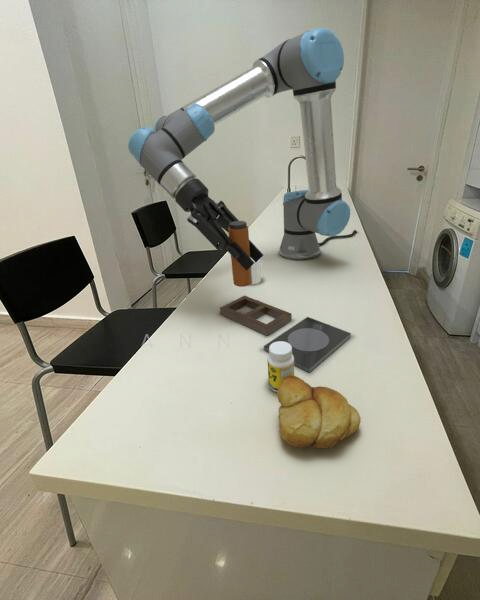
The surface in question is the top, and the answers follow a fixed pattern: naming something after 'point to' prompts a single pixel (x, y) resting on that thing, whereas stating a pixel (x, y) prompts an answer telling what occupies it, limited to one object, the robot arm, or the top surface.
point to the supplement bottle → (279, 363)
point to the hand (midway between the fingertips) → (255, 262)
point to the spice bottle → (241, 237)
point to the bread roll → (314, 414)
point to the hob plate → (311, 342)
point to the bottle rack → (256, 315)
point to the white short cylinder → (256, 271)
